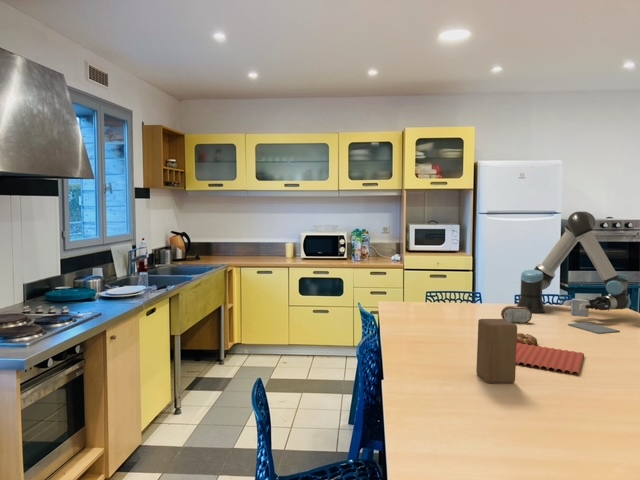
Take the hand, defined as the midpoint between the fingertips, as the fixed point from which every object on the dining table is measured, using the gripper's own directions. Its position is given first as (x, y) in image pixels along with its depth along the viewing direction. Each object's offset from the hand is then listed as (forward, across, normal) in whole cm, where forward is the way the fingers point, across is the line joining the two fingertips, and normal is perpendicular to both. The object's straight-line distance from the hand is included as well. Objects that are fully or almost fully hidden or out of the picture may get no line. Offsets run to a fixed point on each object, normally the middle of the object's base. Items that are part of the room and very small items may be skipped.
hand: (573, 304), depth 252 cm
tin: (+30, +7, -10) cm, 33 cm away
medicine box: (-5, 0, -6) cm, 8 cm away
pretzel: (+55, -26, -10) cm, 62 cm away
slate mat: (+1, -14, -9) cm, 17 cm away
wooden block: (+98, -59, -9) cm, 115 cm away
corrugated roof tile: (+65, -46, -10) cm, 81 cm away
